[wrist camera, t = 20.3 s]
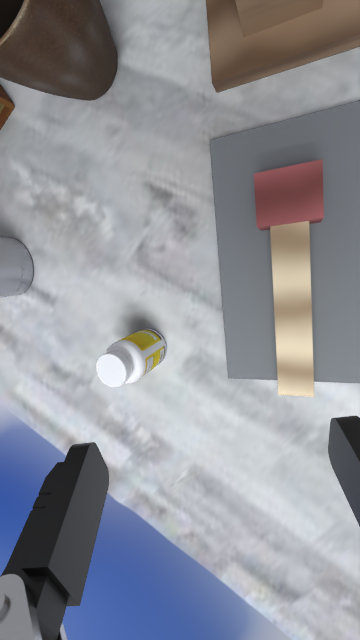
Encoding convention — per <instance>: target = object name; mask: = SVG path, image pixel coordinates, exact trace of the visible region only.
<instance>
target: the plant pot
mask: <svg viewBox="0 0 360 640" xmlns="http://www.w3.org/2000/svg"><path fill="white" fill-rule="evenodd" d="M116 70H117V54H116V50H115V46H114V42H113V39H112V36H111V32H110V29H109V26H108V23H107V20H106V17H105V14H104V11H103V8H102V6H101V3H100V0H0V77H1V78H4V79H6V80H9V81H12V82H14V83H17V84H20V85H23V86H26V87H29V88H32V89H35V90H39V91H42V92H46V93H50V94H54V95H58V96H63V97H68V98H74V99H82V100H94V99H97V98H99V97H101V96H102V95H103V94H105V93H106V92H107V90H108V89H109V88H110V86H111V84H112V82H113V80H114V77H115V74H116Z"/></svg>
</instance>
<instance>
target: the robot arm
mask: <svg viewBox="0 0 360 640" xmlns="http://www.w3.org/2000/svg"><path fill="white" fill-rule="evenodd" d="M32 278H33V264H32V260H31V257H30V254H29V252H28V251H27V249H26V248H25V246H24V245H23V244H22V243H21V242H19V241H18V240H16V239H13V238H5V237H0V297H7V296H15V295H20V294H22V293H24V292H25V291H26V290H27V289H28V288H29V286H30V285H31V282H32ZM328 452H329V458H330V462H331V465H332V467H333V470H334V472H335V474H336V476H337V478H338V481H339V483H340V485H341V487H342V489H343V491H344V494H345V496H346V498H347V500H348V502H349V504H350V507H351V509H352V511H353V513H354V515H355V517H356V520H357V522H358V524H359V526H360V418H359V417H358V416H349V417H339V418H332V419H331V422H330V433H329V445H328ZM108 486H109V472H108V468H107V466H106V464H105V462H104V459H103V457H102V455H101V453H100V451H99V449H98V447H97V445H96V443H94V442H92V443H83V444H74V445H72V446H71V447H70V449H69V451H68V453H67V456H66V458H65V461H64V462H59V463H57V464H56V465H55V467H54V468H53V469H52V470H51V472H50V473H49V474H48V475H47V476H46V478H45V480H44V483H43V485H42V487H41V489H40V492H39V497H37V499H36V501H35V503H34V505H33V510H32V511H31V512H30V514H29V517H28V519H27V521H26V523H25V526H24V528H23V531H22V532H21V535H20V537H19V539H18V541H17V544H16V546H15V548H14V551H13V553H12V555H11V557H10V560H9V562H8V564H7V566H6V568H5V570H4V572H3V573H2V575H1V577H0V640H67V638H66V634H65V630H64V626H63V623H62V620H63V617H64V613H65V609H66V606H80V603H81V598H82V594H83V590H84V586H85V582H86V578H87V573H88V569H89V565H90V561H91V557H92V553H93V548H94V544H95V540H96V536H97V532H98V528H99V523H100V519H101V515H102V511H103V507H104V503H105V499H106V495H107V490H108Z"/></svg>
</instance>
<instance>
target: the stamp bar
mask: <svg viewBox="0 0 360 640" xmlns="http://www.w3.org/2000/svg"><path fill="white" fill-rule="evenodd" d="M254 187H255V205H256V222H257V228H258V229H260V230H261V231H263V230H270V233H271V253H272V273H273V294H274V314H275V334H276V354H277V375H278V395H291V396H309V397H314V372H313V337H312V303H311V268H310V233H309V224H313V223H320V222H321V221H322V219H323V218H324V201H323V159H321V160H316V161H311V162H307V163H302V164H297V165H292V166H288V167H283V168H278V169H273V170H269V171H264V172H259V173H254Z"/></svg>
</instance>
